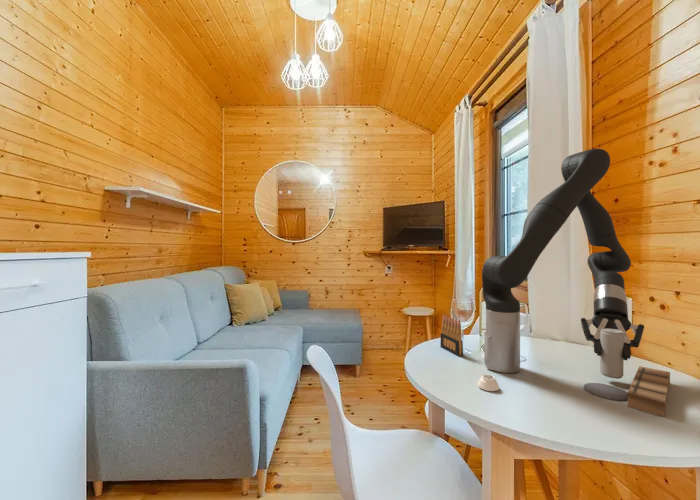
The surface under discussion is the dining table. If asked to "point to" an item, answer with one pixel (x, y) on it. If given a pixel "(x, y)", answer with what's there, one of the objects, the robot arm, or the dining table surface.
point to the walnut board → (649, 390)
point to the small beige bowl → (488, 383)
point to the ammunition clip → (451, 336)
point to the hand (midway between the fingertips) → (612, 356)
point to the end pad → (606, 391)
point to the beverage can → (611, 353)
